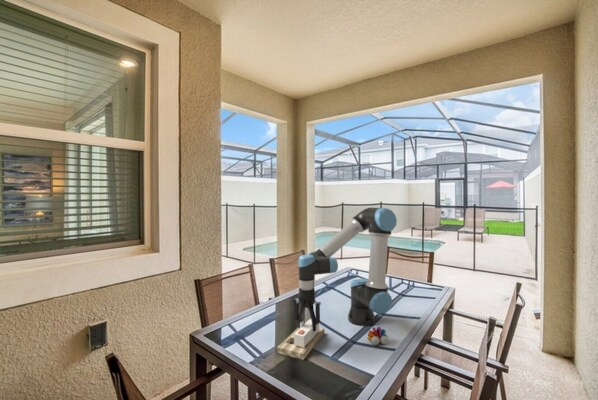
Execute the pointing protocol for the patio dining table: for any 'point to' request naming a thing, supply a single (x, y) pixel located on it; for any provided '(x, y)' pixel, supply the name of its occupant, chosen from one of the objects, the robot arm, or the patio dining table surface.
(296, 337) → the power strip
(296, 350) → the square hole board
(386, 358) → the patio dining table surface
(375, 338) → the rainbow stacked discs
